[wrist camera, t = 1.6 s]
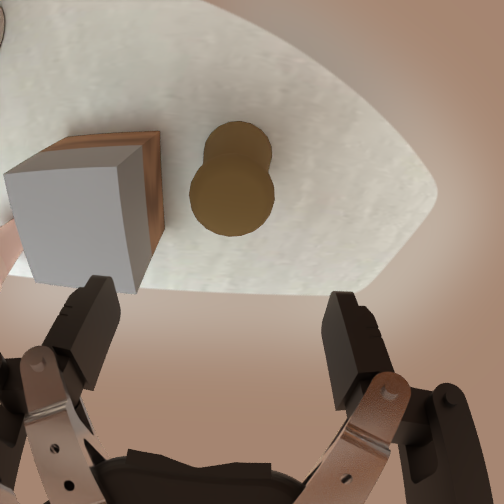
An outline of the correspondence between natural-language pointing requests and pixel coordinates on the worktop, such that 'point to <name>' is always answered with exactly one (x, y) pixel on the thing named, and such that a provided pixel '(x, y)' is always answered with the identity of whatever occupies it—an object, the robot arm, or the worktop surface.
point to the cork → (233, 180)
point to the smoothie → (8, 248)
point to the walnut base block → (150, 166)
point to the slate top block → (83, 215)
